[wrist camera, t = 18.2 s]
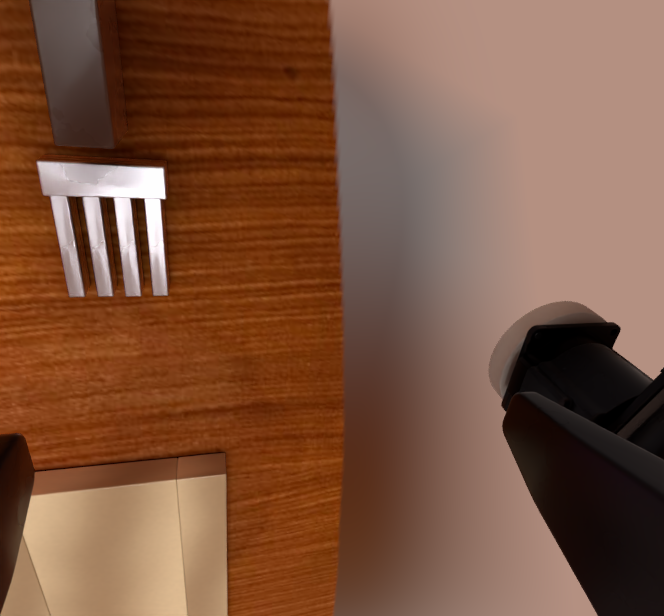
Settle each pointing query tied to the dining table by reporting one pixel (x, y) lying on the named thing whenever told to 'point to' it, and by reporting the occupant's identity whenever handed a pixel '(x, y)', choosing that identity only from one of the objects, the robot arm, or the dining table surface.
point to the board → (125, 541)
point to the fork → (96, 132)
